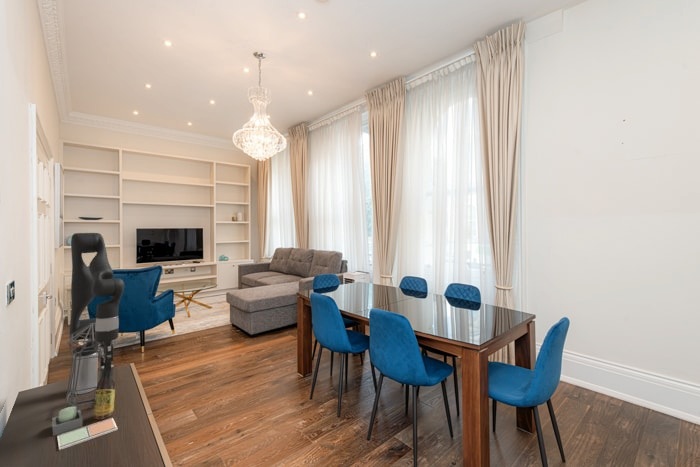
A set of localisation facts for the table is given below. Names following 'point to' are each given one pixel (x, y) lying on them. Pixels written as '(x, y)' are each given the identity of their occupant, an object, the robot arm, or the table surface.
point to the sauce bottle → (105, 395)
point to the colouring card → (86, 433)
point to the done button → (67, 414)
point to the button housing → (66, 424)
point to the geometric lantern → (73, 366)
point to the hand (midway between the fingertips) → (105, 368)
